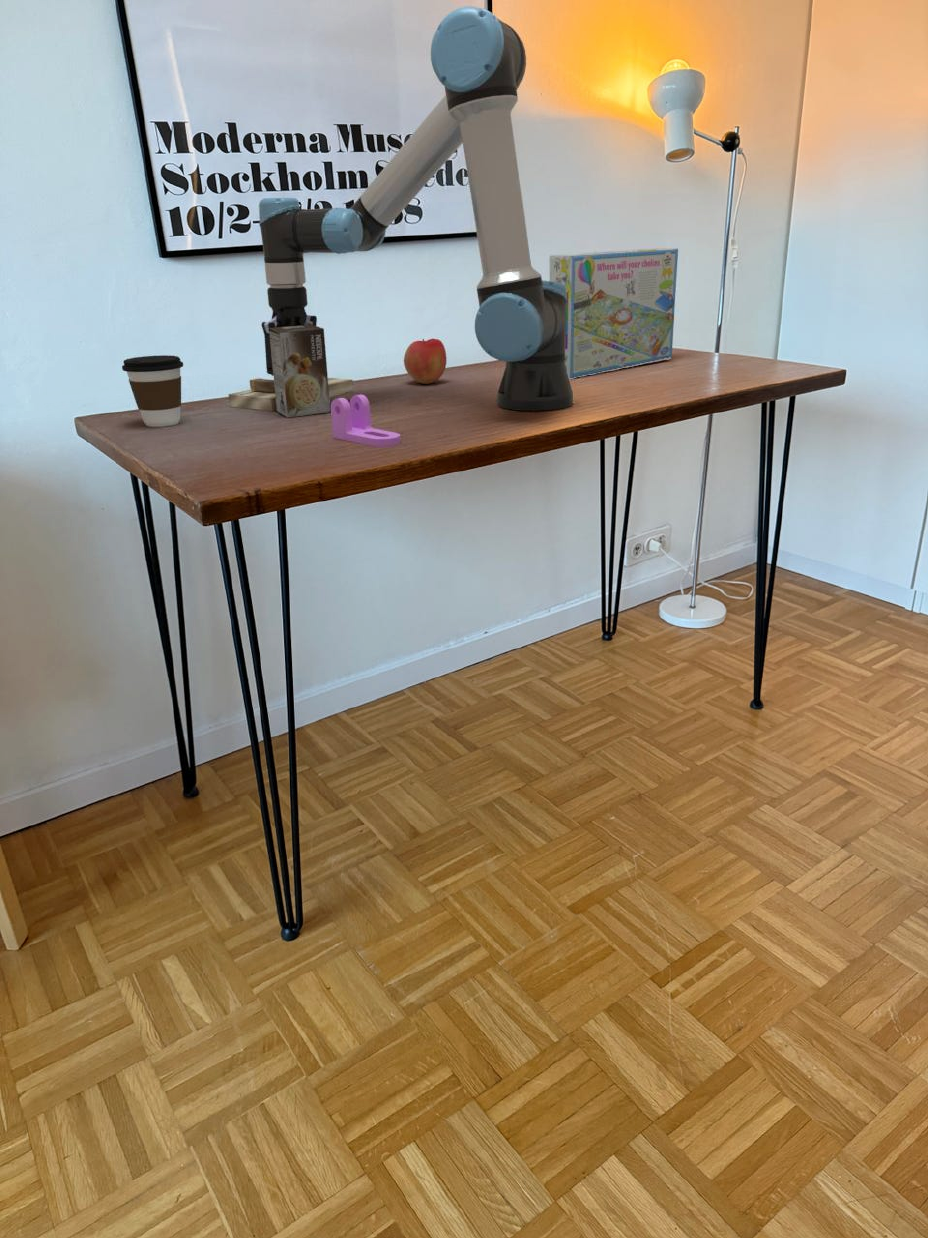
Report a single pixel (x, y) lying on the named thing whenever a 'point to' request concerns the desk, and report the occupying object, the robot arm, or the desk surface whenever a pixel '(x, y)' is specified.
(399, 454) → the desk surface
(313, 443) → the desk surface
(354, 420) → the bracket
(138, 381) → the coffee cup
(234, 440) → the desk surface
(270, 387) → the chocolate brown block
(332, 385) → the plank
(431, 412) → the desk surface
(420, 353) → the apple
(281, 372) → the coffee box
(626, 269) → the game box
